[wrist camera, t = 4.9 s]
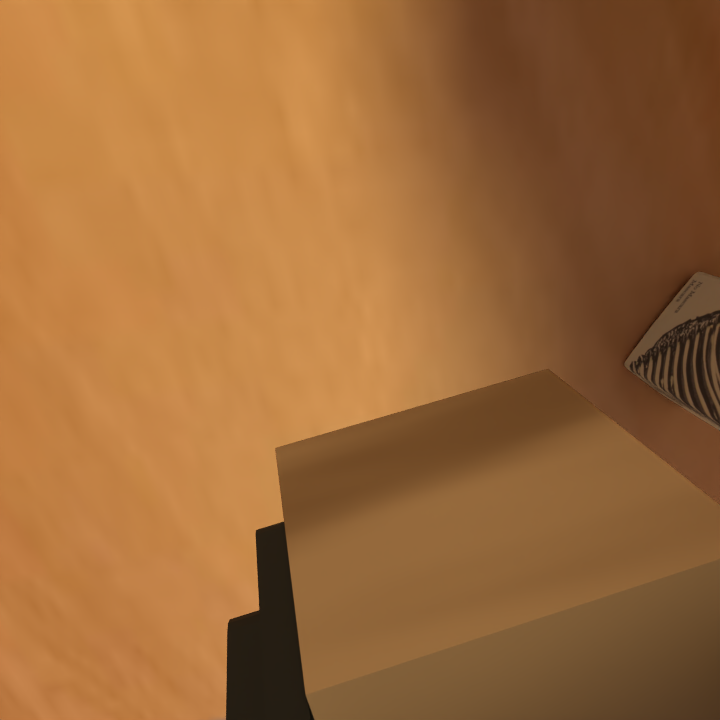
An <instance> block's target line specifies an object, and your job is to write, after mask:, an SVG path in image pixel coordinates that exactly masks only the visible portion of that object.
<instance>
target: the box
mask: <svg viewBox="0 0 720 720" xmlns="http://www.w3.org/2000/svg"><path fill="white" fill-rule="evenodd" d="M624 365H625V367H626V368H627V369H628V370H630V371H631V372H632V373H634V374H635V375H636V376H637V377H639V378H640V379H641V380H643V381H644V382H645V383H647V384H648V385H649V386H651V387H652V388H653V389H655V390H656V391H658V392H659V393H661V394H662V395H664V396H665V397H667V398H668V399H670V400H671V401H673V402H674V403H676V404H678V405H679V406H681V407H682V408H684V409H686V410H687V411H689V412H690V413H692V414H694V415H695V416H697V417H698V418H700V419H702V420H703V421H705V422H706V423H708V424H710V425H711V426H713V427H714V428H716V429H718V430H719V431H720V277H716V276H713V275H710V274H707V273H704V272H696V273H695V274H694V275H693V276H692V277H691V278H690V280H689V281H688V282H687V283H686V284H685V286H684V287H683V288H682V289H681V290H680V292H679V293H678V294H677V295H676V296H675V298H674V299H673V300H672V301H671V302H670V304H669V305H668V306H667V307H666V309H665V310H664V311H663V312H662V313H661V315H660V316H659V317H658V318H657V320H656V321H655V322H654V324H653V325H652V326H651V328H650V329H649V330H648V331H647V333H646V334H645V335H644V337H643V338H642V339H641V341H640V342H639V343H638V345H637V346H636V347H635V349H634V350H633V351H632V353H631V354H630V356H629V357H628V358H627V360H626V361H625V364H624Z"/></svg>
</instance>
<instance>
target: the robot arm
mask: <svg viewBox="0 0 720 720" xmlns="http://www.w3.org/2000/svg"><path fill="white" fill-rule="evenodd" d="M256 550H257V569H258V589H259V609H260V610H259V611H255V612H252V613H249V614H246V615H243V616H240V617H236V618H233V619H230V620H229V623H228V631H227V700H226V720H314V717H313V714H312V711H311V708H310V706H309V703H308V700H307V697H306V694H305V686H304V678H303V670H302V662H301V654H300V646H299V638H298V629H297V621H296V613H295V605H294V597H293V589H292V581H291V573H290V564H289V556H288V548H287V540H286V532H285V524H284V522H281V523H278V524H274V525H271V526H268V527H265V528H261V529H258V530H256Z"/></svg>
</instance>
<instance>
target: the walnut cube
mask: <svg viewBox="0 0 720 720" xmlns="http://www.w3.org/2000/svg"><path fill="white" fill-rule="evenodd" d="M275 451H276V459H277V467H278V475H279V483H280V491H281V499H282V508H283V516H284V524H285V532H286V540H287V548H288V556H289V564H290V573H291V581H292V589H293V597H294V605H295V613H296V621H297V629H298V638H299V646H300V654H301V662H302V670H303V678H304V686H305V694H306V697H307V700H308V703H309V706H310V708H311V711H312V714H313V717H314V720H720V504H718V503H717V502H716V501H714V500H713V499H712V498H711V497H709V496H708V495H707V494H706V493H704V492H703V491H702V490H701V489H699V488H698V487H697V486H696V485H694V484H693V483H692V482H690V481H689V480H688V479H687V478H685V477H684V476H683V475H682V474H680V473H679V472H678V471H677V470H675V469H674V468H673V467H672V466H670V465H669V464H668V463H666V462H665V461H664V460H663V459H661V458H660V457H659V456H658V455H656V454H655V453H654V452H653V451H651V450H650V449H649V448H647V447H646V446H645V445H644V444H642V443H641V442H640V441H639V440H637V439H636V438H635V437H634V436H632V435H631V434H630V433H629V432H627V431H626V430H625V429H623V428H622V427H621V426H620V425H618V424H617V423H616V422H615V421H613V420H612V419H611V418H610V417H608V416H607V415H606V414H605V413H603V412H602V411H601V410H599V409H598V408H597V407H596V406H594V405H593V404H592V403H591V402H589V401H588V400H587V399H586V398H584V397H583V396H582V395H580V394H579V393H578V392H577V391H575V390H574V389H573V388H572V387H570V386H569V385H568V384H567V383H565V382H564V381H563V380H562V379H560V378H559V377H558V376H556V375H555V374H554V373H553V372H551V371H550V370H549V369H546V370H542V371H539V372H536V373H532V374H529V375H525V376H522V377H518V378H515V379H511V380H508V381H505V382H501V383H498V384H494V385H491V386H487V387H484V388H480V389H477V390H474V391H470V392H467V393H463V394H460V395H456V396H453V397H449V398H446V399H443V400H439V401H436V402H432V403H429V404H425V405H422V406H418V407H415V408H412V409H408V410H405V411H401V412H398V413H394V414H391V415H387V416H384V417H381V418H377V419H374V420H370V421H367V422H363V423H360V424H357V425H353V426H350V427H346V428H343V429H339V430H336V431H332V432H329V433H326V434H322V435H319V436H315V437H312V438H308V439H305V440H301V441H298V442H295V443H291V444H288V445H284V446H281V447H277V448H275Z"/></svg>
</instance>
